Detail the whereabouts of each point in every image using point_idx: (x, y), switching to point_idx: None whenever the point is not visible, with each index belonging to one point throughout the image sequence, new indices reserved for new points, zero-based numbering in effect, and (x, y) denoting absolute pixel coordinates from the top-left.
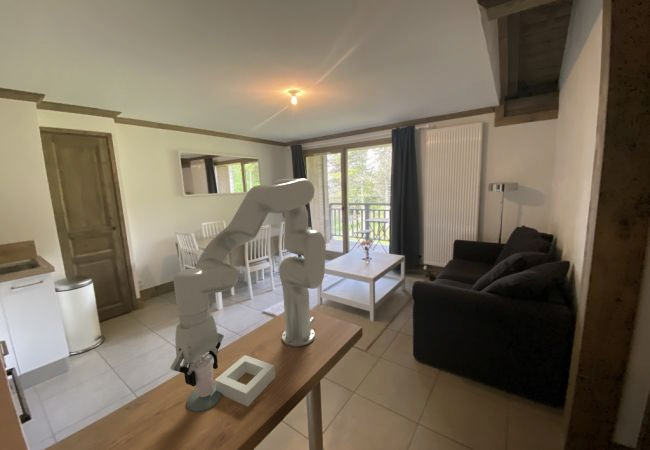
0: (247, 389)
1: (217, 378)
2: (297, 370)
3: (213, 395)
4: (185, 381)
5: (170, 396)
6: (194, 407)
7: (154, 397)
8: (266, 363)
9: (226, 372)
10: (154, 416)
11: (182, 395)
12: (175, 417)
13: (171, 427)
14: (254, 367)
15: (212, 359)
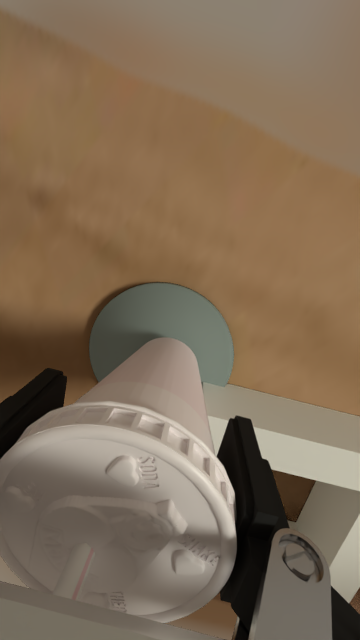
0: None
1: (214, 424)
2: (356, 605)
3: None
4: (7, 398)
5: (133, 174)
6: (99, 351)
7: (104, 80)
8: (352, 589)
9: (266, 445)
10: (22, 197)
11: (153, 235)
12: (50, 297)
13: (13, 315)
14: (334, 525)
15: (160, 621)
